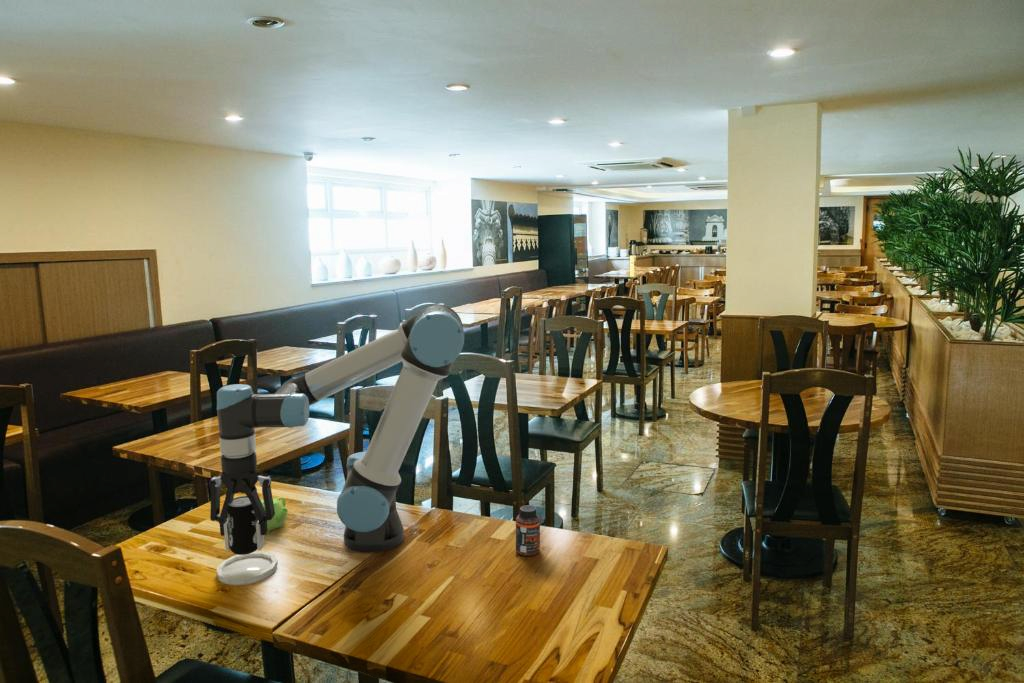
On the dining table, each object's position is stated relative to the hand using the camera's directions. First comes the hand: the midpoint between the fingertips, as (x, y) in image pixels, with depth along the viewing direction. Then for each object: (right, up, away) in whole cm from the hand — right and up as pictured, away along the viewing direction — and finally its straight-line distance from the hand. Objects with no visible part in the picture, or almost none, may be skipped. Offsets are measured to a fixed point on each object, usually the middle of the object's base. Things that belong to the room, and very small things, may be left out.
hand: (245, 547), depth 161 cm
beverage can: (0, -1, 0) cm, 1 cm away
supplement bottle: (+66, -4, +10) cm, 67 cm away
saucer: (0, -6, +1) cm, 6 cm away
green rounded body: (-4, -2, +24) cm, 24 cm away
